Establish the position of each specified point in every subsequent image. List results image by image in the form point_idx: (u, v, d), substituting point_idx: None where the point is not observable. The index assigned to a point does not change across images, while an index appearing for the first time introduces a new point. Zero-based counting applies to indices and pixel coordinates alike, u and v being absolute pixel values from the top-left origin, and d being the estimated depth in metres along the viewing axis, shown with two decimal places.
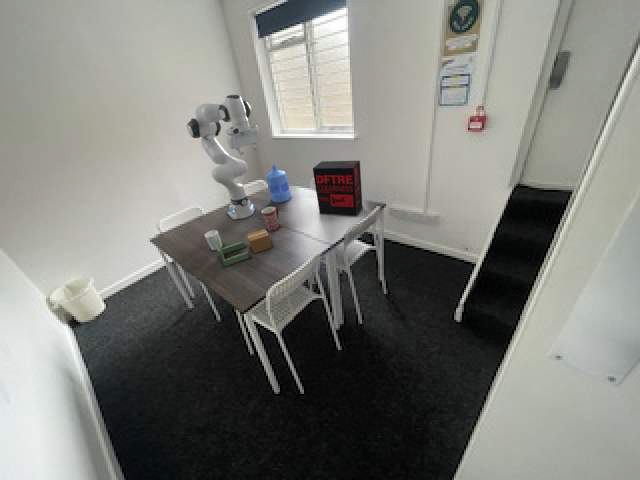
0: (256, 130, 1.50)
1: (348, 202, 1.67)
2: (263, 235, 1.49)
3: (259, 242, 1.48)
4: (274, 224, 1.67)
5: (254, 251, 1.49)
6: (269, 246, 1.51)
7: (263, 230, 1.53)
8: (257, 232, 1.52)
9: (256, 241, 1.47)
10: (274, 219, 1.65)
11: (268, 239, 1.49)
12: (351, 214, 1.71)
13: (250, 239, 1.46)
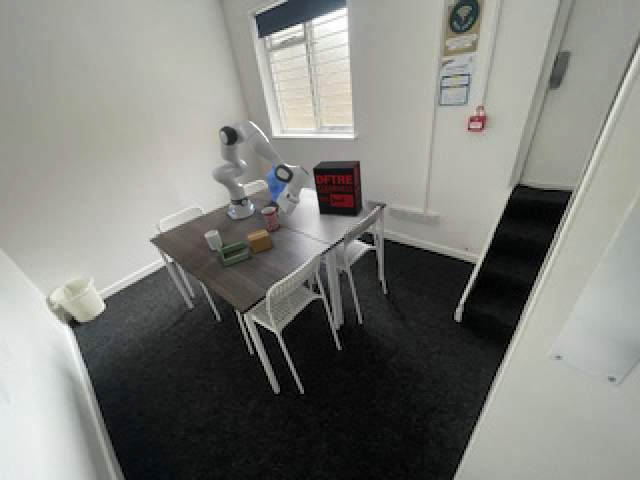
0: None
1: (348, 202, 1.67)
2: (263, 235, 1.49)
3: (259, 242, 1.48)
4: (274, 224, 1.67)
5: (254, 251, 1.49)
6: (269, 246, 1.51)
7: (263, 230, 1.53)
8: (257, 232, 1.52)
9: (256, 241, 1.47)
10: (274, 219, 1.65)
11: (268, 239, 1.49)
12: (351, 214, 1.71)
13: (250, 239, 1.46)
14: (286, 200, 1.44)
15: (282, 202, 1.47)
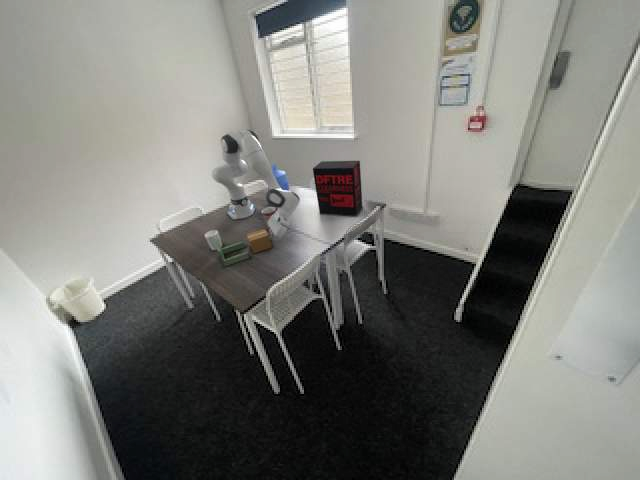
0: None
1: (348, 202, 1.67)
2: (263, 235, 1.48)
3: (259, 242, 1.47)
4: None
5: (254, 251, 1.49)
6: (269, 246, 1.51)
7: (263, 230, 1.53)
8: (257, 232, 1.52)
9: (256, 241, 1.47)
10: None
11: (268, 239, 1.49)
12: (351, 214, 1.71)
13: (250, 239, 1.46)
14: (277, 223, 1.48)
15: (273, 225, 1.51)
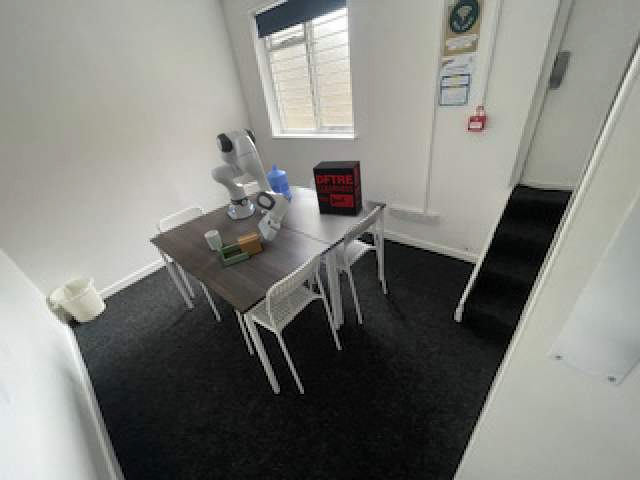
0: None
1: (348, 202, 1.67)
2: (253, 238, 1.47)
3: (249, 246, 1.46)
4: None
5: None
6: (259, 249, 1.49)
7: (253, 233, 1.51)
8: (247, 235, 1.50)
9: (246, 245, 1.45)
10: None
11: (258, 242, 1.47)
12: (351, 214, 1.71)
13: (240, 243, 1.44)
14: (267, 226, 1.46)
15: (263, 228, 1.49)
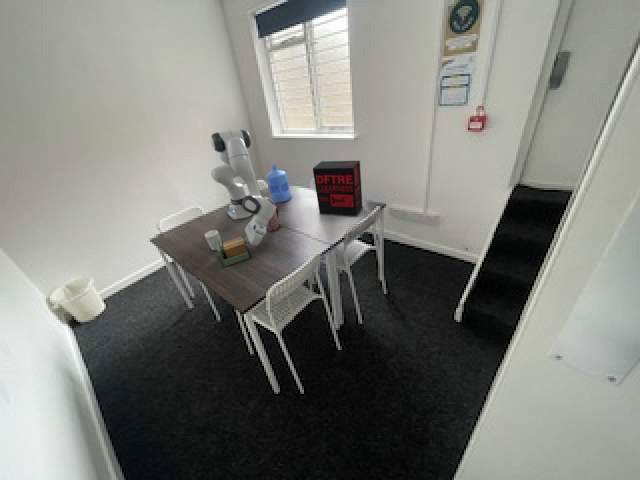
0: None
1: (348, 202, 1.67)
2: (239, 243, 1.44)
3: (235, 251, 1.43)
4: (274, 224, 1.67)
5: None
6: None
7: (240, 238, 1.49)
8: (233, 240, 1.48)
9: (232, 250, 1.42)
10: (274, 219, 1.65)
11: (244, 247, 1.45)
12: (351, 214, 1.71)
13: (225, 248, 1.42)
14: (253, 231, 1.44)
15: (249, 232, 1.47)
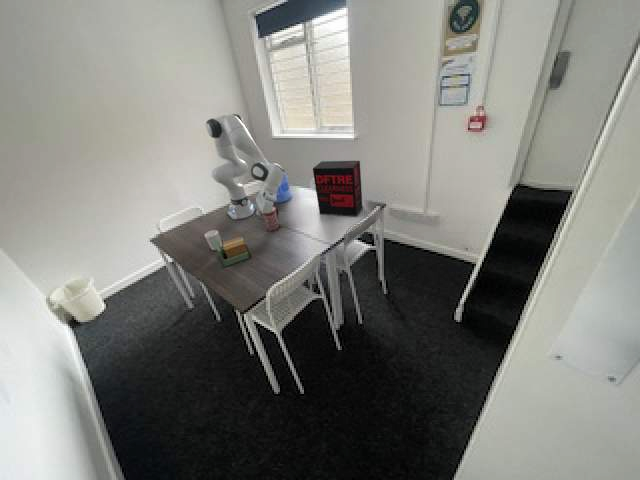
0: None
1: (348, 202, 1.67)
2: (239, 243, 1.44)
3: (235, 251, 1.43)
4: (274, 224, 1.67)
5: None
6: None
7: (240, 238, 1.49)
8: (233, 240, 1.48)
9: (232, 250, 1.42)
10: (274, 219, 1.65)
11: (244, 247, 1.45)
12: (351, 214, 1.71)
13: (225, 248, 1.42)
14: (263, 199, 1.41)
15: (260, 201, 1.45)
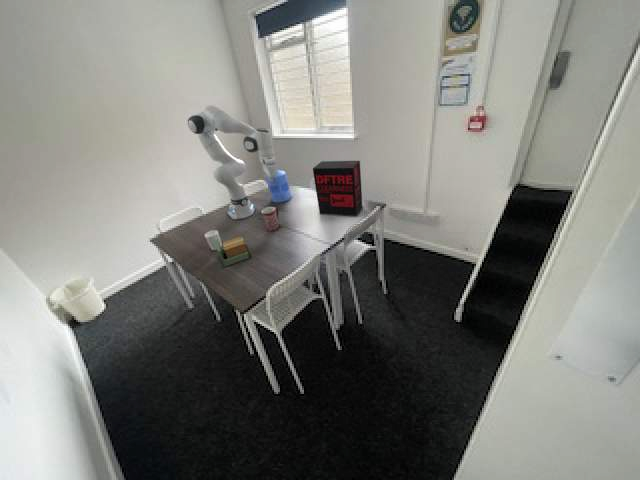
0: None
1: (348, 202, 1.67)
2: (239, 243, 1.44)
3: (235, 251, 1.43)
4: (274, 224, 1.67)
5: None
6: None
7: (240, 238, 1.49)
8: (233, 240, 1.48)
9: (232, 250, 1.42)
10: (274, 219, 1.65)
11: (244, 247, 1.45)
12: (351, 214, 1.71)
13: (225, 248, 1.42)
14: None
15: (266, 169, 1.56)
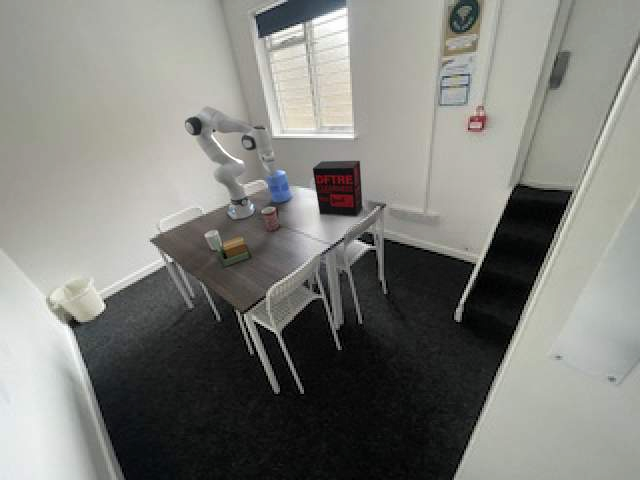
0: None
1: (348, 202, 1.67)
2: (239, 243, 1.44)
3: (235, 251, 1.43)
4: (274, 224, 1.67)
5: None
6: None
7: (240, 238, 1.49)
8: (233, 240, 1.48)
9: (232, 250, 1.42)
10: (274, 219, 1.65)
11: (244, 247, 1.45)
12: (351, 214, 1.71)
13: (225, 248, 1.42)
14: None
15: (265, 165, 1.58)
